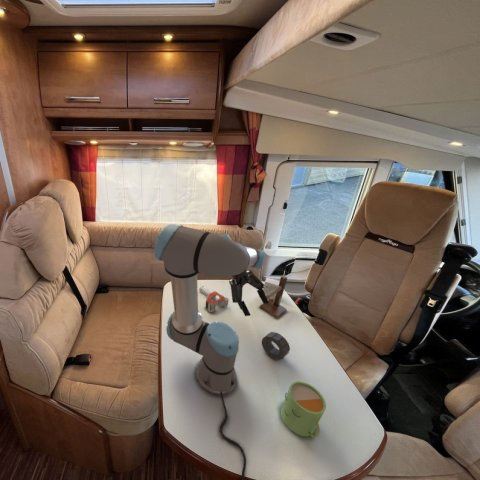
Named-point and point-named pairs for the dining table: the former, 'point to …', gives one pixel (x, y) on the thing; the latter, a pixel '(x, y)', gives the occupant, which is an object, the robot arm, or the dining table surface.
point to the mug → (303, 409)
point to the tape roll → (279, 341)
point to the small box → (270, 286)
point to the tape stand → (274, 306)
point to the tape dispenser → (211, 296)
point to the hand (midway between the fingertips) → (257, 309)
